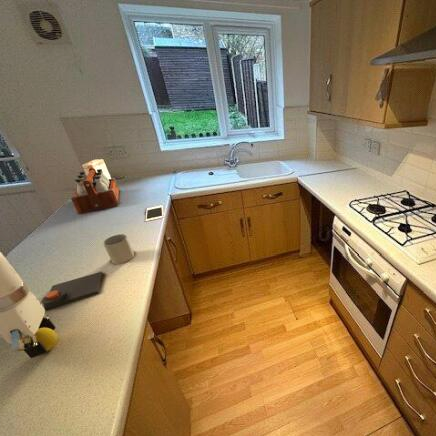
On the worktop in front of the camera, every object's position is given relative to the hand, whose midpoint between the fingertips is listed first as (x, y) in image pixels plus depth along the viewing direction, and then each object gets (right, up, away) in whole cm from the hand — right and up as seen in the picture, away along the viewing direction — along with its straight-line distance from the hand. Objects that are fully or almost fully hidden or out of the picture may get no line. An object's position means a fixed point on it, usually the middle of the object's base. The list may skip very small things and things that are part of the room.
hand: (44, 341), depth 66 cm
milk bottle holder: (-59, +45, +94) cm, 120 cm away
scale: (-10, +7, +21) cm, 24 cm away
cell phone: (-12, +37, +75) cm, 84 cm away
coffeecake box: (-78, +59, +120) cm, 155 cm away
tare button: (-12, +8, +15) cm, 21 cm away
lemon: (0, -3, +2) cm, 3 cm away
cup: (-4, +16, +38) cm, 41 cm away
